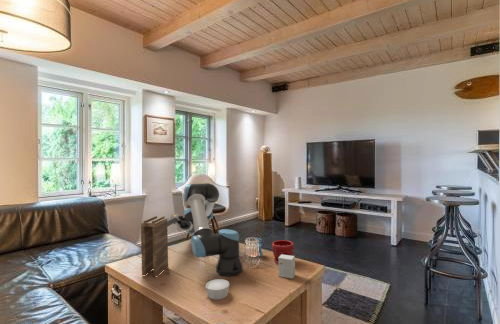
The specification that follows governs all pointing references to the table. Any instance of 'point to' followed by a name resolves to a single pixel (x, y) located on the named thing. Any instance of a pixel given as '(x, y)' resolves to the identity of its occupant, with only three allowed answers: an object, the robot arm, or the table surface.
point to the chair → (259, 246)
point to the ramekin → (217, 289)
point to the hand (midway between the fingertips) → (173, 215)
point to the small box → (286, 266)
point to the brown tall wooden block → (154, 245)
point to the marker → (171, 220)
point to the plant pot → (282, 248)
